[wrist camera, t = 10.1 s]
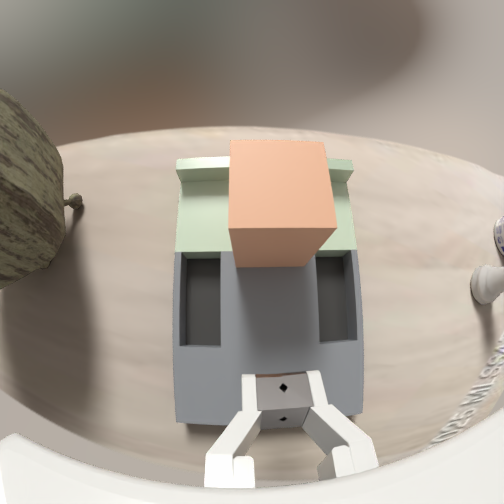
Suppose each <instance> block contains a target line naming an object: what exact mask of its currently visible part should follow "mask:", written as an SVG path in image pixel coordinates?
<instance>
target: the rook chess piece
mask: <svg viewBox="0 0 504 504" xmlns="http://www.w3.org/2000/svg"><path fill="white" fill-rule="evenodd" d="M471 290H472V294H473V296H474V298H475V299H476V300H477V301H478V302H479V303H480V304H482V305H486V304H487V303H491V302H493V301H494V300H495V299H496V298H497V297H498V296H499V295H500V293H502V292H504V266H503V267H494V266H491V265H483V266H479V267H477V268H476V269H475V271H474V273H473V275H472V279H471Z"/></svg>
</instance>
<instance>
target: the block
mask: <svg viewBox="0 0 504 504" xmlns="http://www.w3.org/2000/svg"><path fill="white" fill-rule="evenodd" d="M336 229H337V221H336V213H335V206H334V199H333V193H332V187H331V181H330V175H329V169H328V164H327V158H326V153H325V148H324V143H323V142H311V141H291V140H230V164H229V211H228V230H229V235H230V240H231V245H232V251H233V256H234V261H235V266H236V268H239V267H298V266H305V265H306V264H307V263H308V261H309V260H310V259H311V258H312V257H313V256H314V255H315V253H316V252H317V251H318V250H319V249H320V248H321V247H322V245H323V244H324V243H325V242H326V241H327V240H328V238H329V237H330V236H331V235H332V234H333V233H334V231H335V230H336Z"/></svg>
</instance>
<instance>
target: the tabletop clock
mask: <svg viewBox="0 0 504 504" xmlns="http://www.w3.org/2000/svg"><path fill="white" fill-rule="evenodd" d="M82 201H83V200H82V196H81V195H79V194H78V193H76V194H72V195H71V196H70V197H69V200H64V197H63V164H62V159H61V156H60V154H59V152H58V150H57V148H56V147H55V145H54V144H53V142H52V141H51V139H50V138H49V137H48V135H47V134H46V132H45V131H44V130H43V128H42V127H41V125H40V124H39V123H38V122H37V121H36V120H35V119H34V117H33V116H32V115H31V114H30V113H29V112H28V111H27V110H26V109H25V108H24V107H23V106H22V105H21V104H20V103H19V102H18V101H17V100H16V99H15V98H13V97H12V96H11V95H10V94H8V93H7V92H6V91H4V90H2V89H0V289H2V288H4V287H6V286H7V285H9V284H11V283H13V282H15V281H17V280H19V279H21V278H23V277H25V276H26V275H28V274H30V273H31V272H33V271H35V270H36V269H38V268H41V269H45V268H47V267H48V266H49V264H50V260H52V259H53V258H54V256H55V255H56V254H57V252H58V249H59V247H60V245H61V243H62V241H63V238H64V236H65V234H66V230H65V217H64V206H67V205H69V206H70V207H71V208H73V209H76V208H79V207H80V206H81V205H82Z"/></svg>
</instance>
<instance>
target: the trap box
mask: <svg viewBox="0 0 504 504" xmlns="http://www.w3.org/2000/svg"><path fill="white" fill-rule="evenodd" d="M229 164H230V157H204V158H187V159H177V163H176V172H177V174H178V177H179V179H180V181H181V187H180V196H179V206H178V217H177V230H176V244H175V261H174V283H173V374H174V396H175V412H176V422H180V423H191V424H205V425H229V423H230V422H231V421H232V419H233V418H234V417H235V415H236V414H237V413H238V411H242V374H279V373H289V372H300V371H313V370H319V372H320V373H321V377H322V381H323V385H324V389H325V393H326V397H327V401H328V405H330V404H332V405H333V406H334V407H336V408H337V409H338V410H339V411H340V412H341V413H342V414H343V415H345V416H350V415H356V414H361V413H362V410H363V385H364V341H363V315H362V299H361V286H360V274H359V265H358V255H357V247H356V239H355V232H354V225H353V218H352V212H351V206H350V200H349V194H348V189H347V183H346V182H347V181H348V179H349V178H350V176H351V174H352V173H353V171H354V169H353V164H352V160H342V159H329V158H327V164H328V169H329V175H330V181H331V187H332V193H333V199H334V206H335V213H336V221H337V229H336V230H335V231H334V233H333V234H332V235H331V236H330V237H329V238H328V240H327V241H326V242H325V243H324V244H323V245H322V247H321V248H320V249H319V250H318V251H317V252H316V253H315V255H314V256H313V257H312V258H311V259H310V260H309V261H308V263H307V264H306V265H305V266H298V267H239V268H236V266H235V261H234V256H233V251H232V245H231V240H230V235H229V230H228V211H229Z"/></svg>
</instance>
